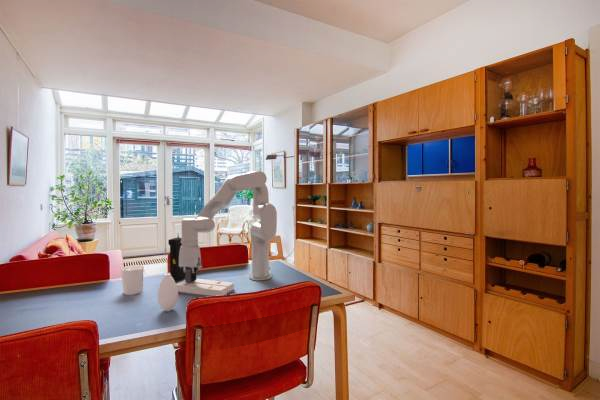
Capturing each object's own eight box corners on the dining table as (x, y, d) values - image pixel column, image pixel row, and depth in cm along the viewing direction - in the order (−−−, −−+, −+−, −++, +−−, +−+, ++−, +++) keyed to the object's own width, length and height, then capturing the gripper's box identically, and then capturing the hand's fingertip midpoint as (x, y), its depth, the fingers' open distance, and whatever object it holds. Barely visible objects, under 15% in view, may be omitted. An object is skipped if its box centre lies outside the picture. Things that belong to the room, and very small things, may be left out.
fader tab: (190, 285, 159) (190, 266, 158) (195, 286, 158) (195, 267, 157) (185, 288, 155) (185, 269, 154) (190, 289, 154) (190, 269, 154)
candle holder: (148, 290, 156) (148, 266, 155) (130, 296, 147) (130, 271, 147) (135, 287, 160) (134, 264, 160) (117, 293, 151) (116, 268, 151)
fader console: (189, 285, 164) (189, 277, 164) (234, 290, 156) (234, 282, 156) (174, 292, 152) (173, 284, 152) (221, 299, 144) (220, 289, 144)
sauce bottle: (157, 315, 126) (156, 271, 125) (158, 308, 134) (157, 266, 133) (178, 312, 130) (177, 269, 129) (177, 305, 137) (177, 264, 136)
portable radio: (177, 282, 169) (177, 235, 168) (167, 281, 170) (166, 235, 169) (185, 277, 177) (185, 233, 175) (176, 277, 178) (175, 233, 177)
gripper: (171, 243, 154) (171, 280, 155) (199, 245, 149) (200, 284, 150) (181, 241, 161) (181, 276, 162) (208, 243, 156) (209, 279, 157)
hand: (190, 279), depth 156 cm, fingers closed on fader tab, 3 cm apart
